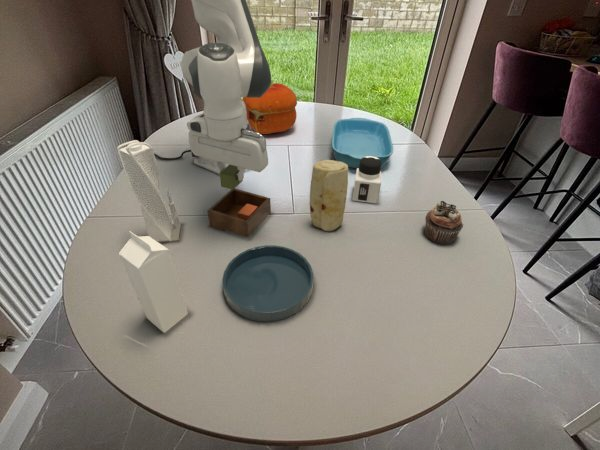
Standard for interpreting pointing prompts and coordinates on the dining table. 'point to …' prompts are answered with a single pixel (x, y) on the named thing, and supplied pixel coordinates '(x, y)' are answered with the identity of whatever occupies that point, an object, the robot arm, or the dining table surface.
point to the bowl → (268, 283)
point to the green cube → (229, 177)
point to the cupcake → (443, 223)
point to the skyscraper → (149, 191)
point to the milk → (154, 280)
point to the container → (368, 180)
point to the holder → (230, 204)
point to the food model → (328, 194)
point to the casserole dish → (361, 141)
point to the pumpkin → (272, 110)
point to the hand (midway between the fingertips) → (231, 177)
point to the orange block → (247, 211)
